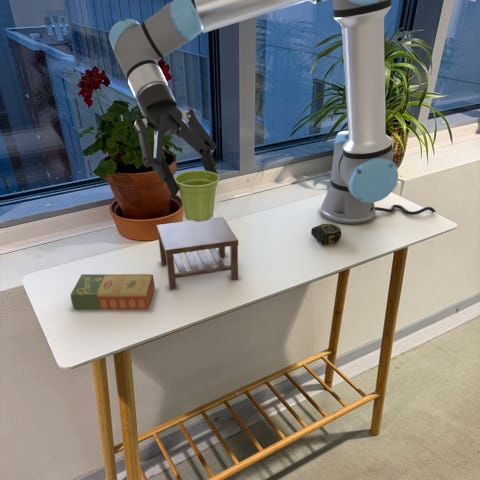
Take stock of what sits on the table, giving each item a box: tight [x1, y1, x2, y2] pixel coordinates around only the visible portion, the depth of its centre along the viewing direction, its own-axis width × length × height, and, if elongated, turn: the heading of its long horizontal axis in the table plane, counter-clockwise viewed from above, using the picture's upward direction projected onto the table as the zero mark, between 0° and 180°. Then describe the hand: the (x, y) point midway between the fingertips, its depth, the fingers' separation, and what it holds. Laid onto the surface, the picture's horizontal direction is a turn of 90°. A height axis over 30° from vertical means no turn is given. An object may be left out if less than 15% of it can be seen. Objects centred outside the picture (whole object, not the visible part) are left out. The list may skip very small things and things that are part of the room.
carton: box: [70, 273, 156, 311], centre depth 104 cm, size 8×16×4 cm, turn 89°
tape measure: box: [310, 223, 342, 246], centre depth 126 cm, size 7×7×4 cm
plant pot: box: [173, 169, 221, 222], centre depth 103 cm, size 9×9×9 cm
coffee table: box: [156, 216, 239, 291], centre depth 112 cm, size 16×13×10 cm
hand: (196, 187), depth 102 cm, fingers closed on plant pot, 9 cm apart
